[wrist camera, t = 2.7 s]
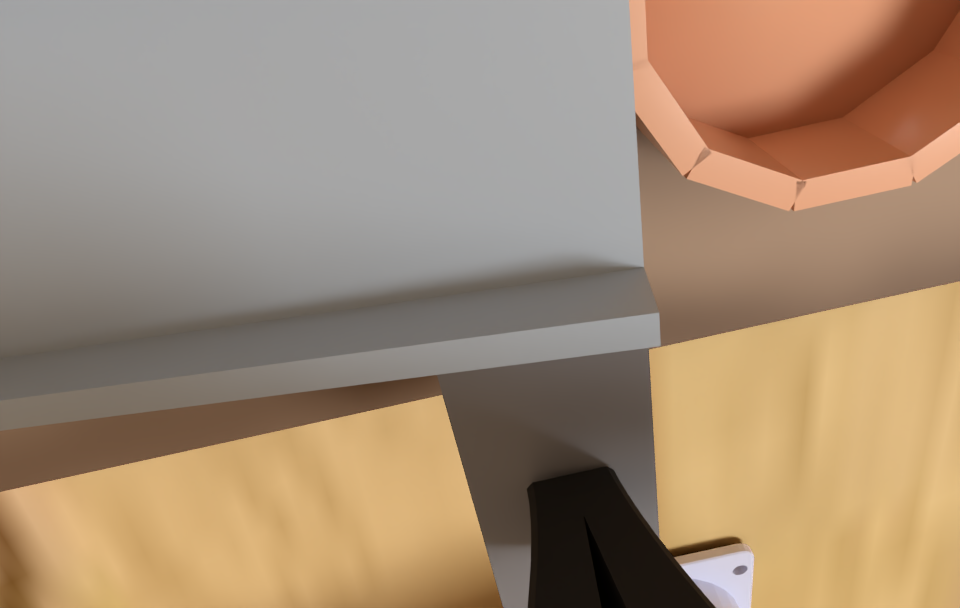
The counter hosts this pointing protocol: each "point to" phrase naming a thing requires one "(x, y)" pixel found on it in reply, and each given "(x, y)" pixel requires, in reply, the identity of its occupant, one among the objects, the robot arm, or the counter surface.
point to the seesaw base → (672, 277)
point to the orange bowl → (799, 93)
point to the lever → (335, 223)
